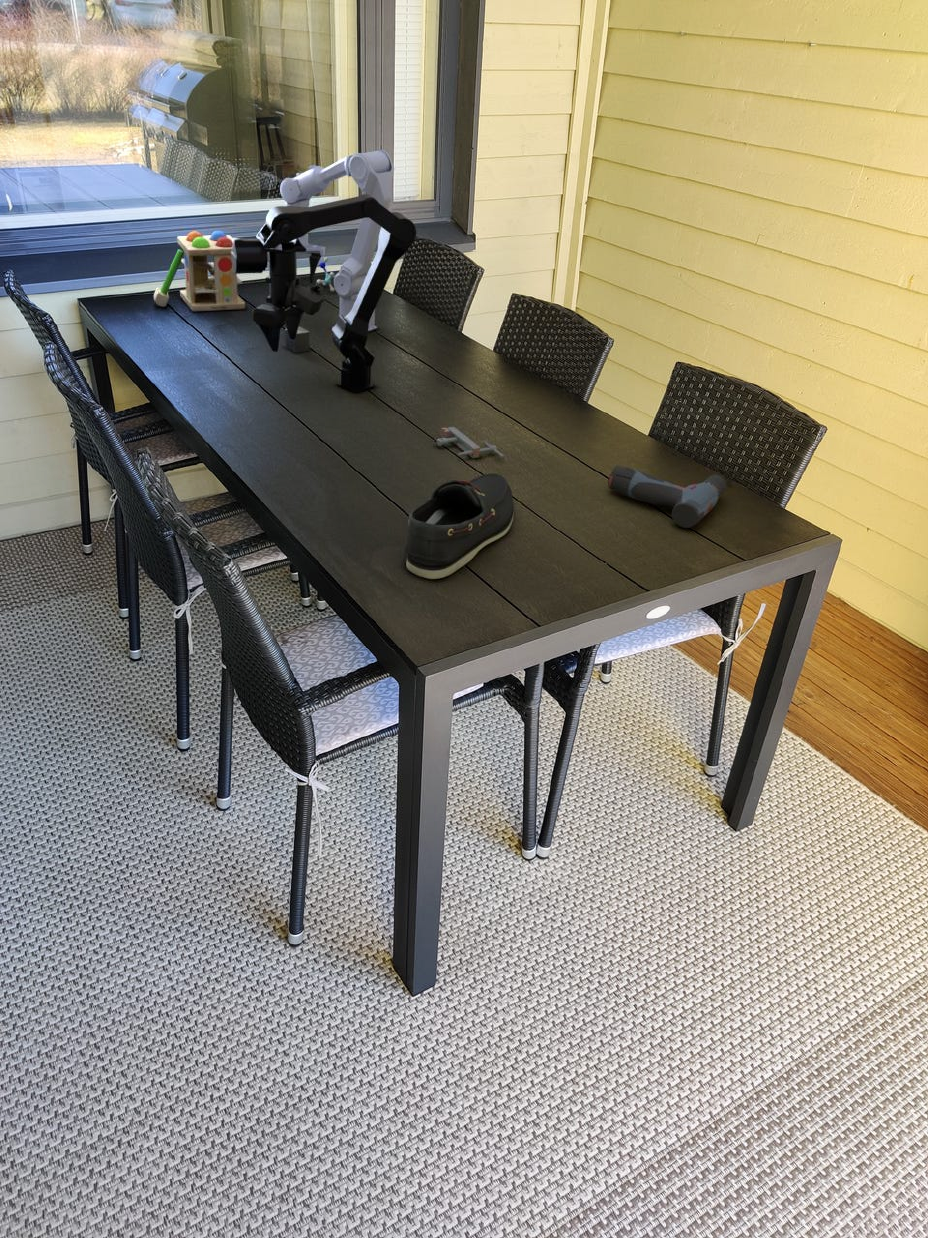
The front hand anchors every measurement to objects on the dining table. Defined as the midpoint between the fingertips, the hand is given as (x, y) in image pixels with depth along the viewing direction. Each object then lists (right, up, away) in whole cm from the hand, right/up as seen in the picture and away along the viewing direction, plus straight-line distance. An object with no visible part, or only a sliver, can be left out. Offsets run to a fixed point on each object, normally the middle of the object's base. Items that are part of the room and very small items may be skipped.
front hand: (284, 345), depth 215 cm
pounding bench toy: (-33, +25, +51) cm, 66 cm away
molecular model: (0, +38, +74) cm, 83 cm away
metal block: (-2, +7, +29) cm, 30 cm away
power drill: (+79, -37, -24) cm, 90 cm away
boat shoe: (+39, -46, -43) cm, 73 cm away
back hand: (-5, +30, +47) cm, 56 cm away
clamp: (+40, -25, -13) cm, 49 cm away
